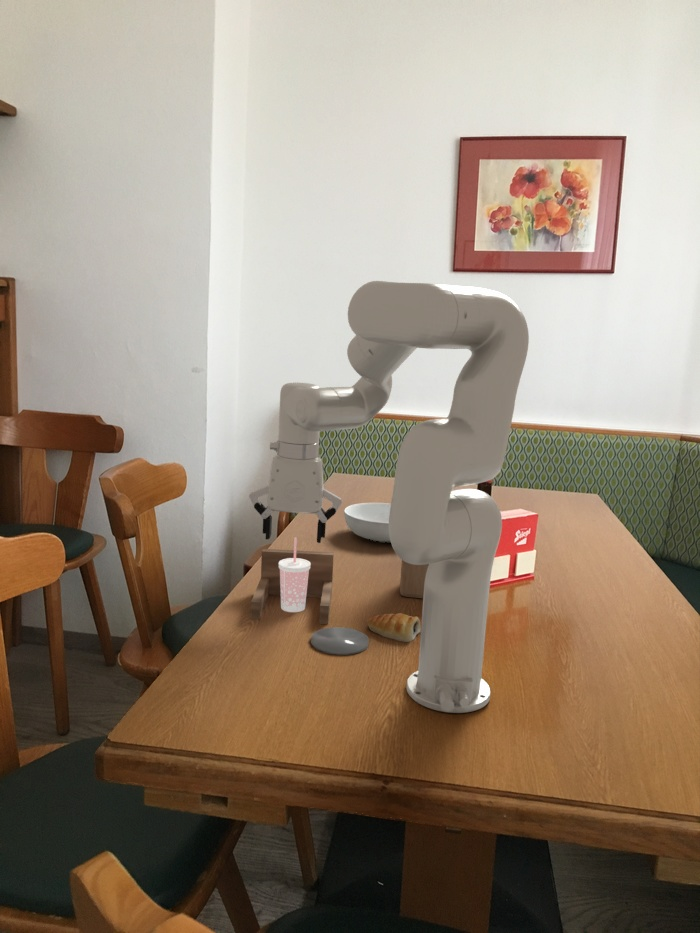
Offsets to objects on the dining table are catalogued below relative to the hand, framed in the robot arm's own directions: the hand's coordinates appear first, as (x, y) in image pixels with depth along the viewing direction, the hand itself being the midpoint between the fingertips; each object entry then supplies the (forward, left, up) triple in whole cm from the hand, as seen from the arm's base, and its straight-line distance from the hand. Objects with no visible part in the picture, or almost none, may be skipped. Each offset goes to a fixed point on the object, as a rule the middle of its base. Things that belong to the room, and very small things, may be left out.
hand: (293, 539), depth 142 cm
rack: (0, 0, -14) cm, 14 cm away
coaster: (-15, -10, -14) cm, 22 cm away
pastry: (-10, -20, -14) cm, 26 cm away
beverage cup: (0, 0, -14) cm, 14 cm away
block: (+12, -27, -14) cm, 33 cm away
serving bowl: (+50, -19, -14) cm, 55 cm away
